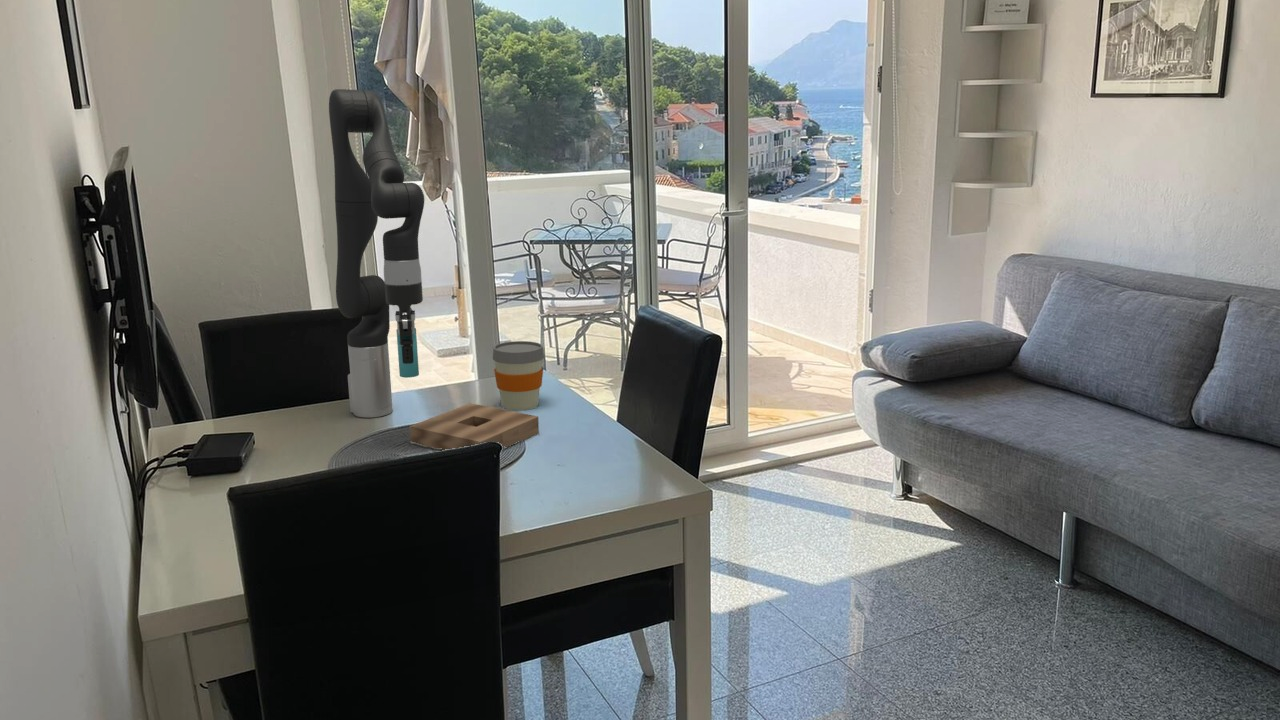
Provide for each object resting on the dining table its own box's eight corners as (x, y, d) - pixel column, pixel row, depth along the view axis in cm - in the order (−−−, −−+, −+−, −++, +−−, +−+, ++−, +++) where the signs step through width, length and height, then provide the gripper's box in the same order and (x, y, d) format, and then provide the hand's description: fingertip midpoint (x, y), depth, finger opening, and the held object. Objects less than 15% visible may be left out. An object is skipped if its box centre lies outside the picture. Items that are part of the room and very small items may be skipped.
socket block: (410, 443, 202) (409, 426, 201) (470, 419, 219) (470, 403, 218) (481, 460, 192) (480, 441, 191) (538, 433, 209) (538, 416, 208)
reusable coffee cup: (525, 395, 238) (524, 338, 235) (555, 405, 230) (554, 347, 226) (484, 404, 230) (482, 346, 227) (513, 416, 221) (511, 355, 218)
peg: (395, 375, 196) (392, 329, 194) (409, 371, 199) (406, 326, 197) (409, 378, 194) (406, 332, 191) (422, 374, 197) (420, 328, 195)
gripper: (421, 285, 186) (426, 367, 190) (421, 274, 199) (426, 351, 203) (383, 286, 184) (389, 370, 188) (385, 276, 198) (391, 353, 202)
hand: (408, 360), depth 196 cm, fingers closed on peg, 4 cm apart
